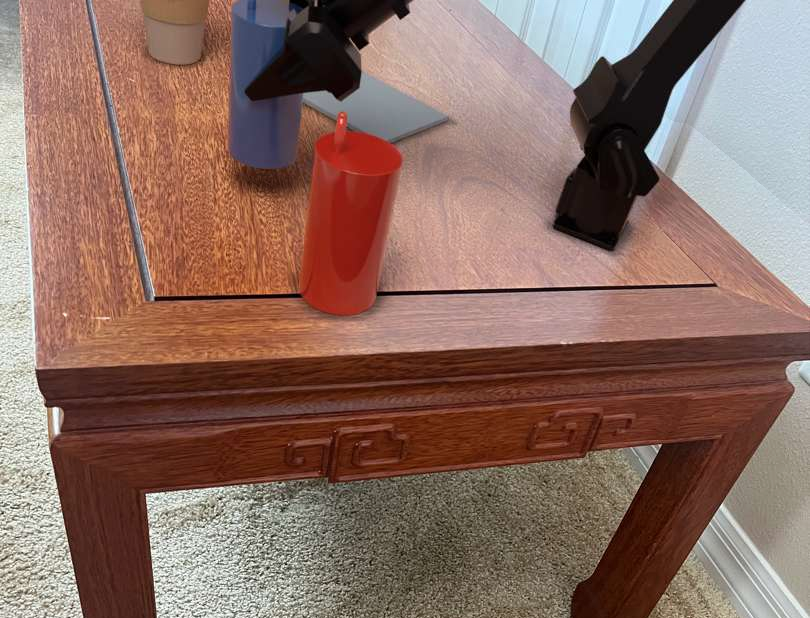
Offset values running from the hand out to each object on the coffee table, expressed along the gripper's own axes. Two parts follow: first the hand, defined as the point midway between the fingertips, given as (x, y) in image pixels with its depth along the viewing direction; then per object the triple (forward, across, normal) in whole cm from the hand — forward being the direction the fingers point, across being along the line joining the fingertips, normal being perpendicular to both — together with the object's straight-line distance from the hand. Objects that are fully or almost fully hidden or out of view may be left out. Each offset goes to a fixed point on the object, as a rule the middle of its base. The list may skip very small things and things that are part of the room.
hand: (250, 79), depth 71 cm
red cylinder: (+1, +16, +13) cm, 20 cm away
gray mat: (-2, -20, +16) cm, 26 cm away
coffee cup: (+14, -27, 0) cm, 30 cm away
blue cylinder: (+4, 0, +6) cm, 7 cm away
